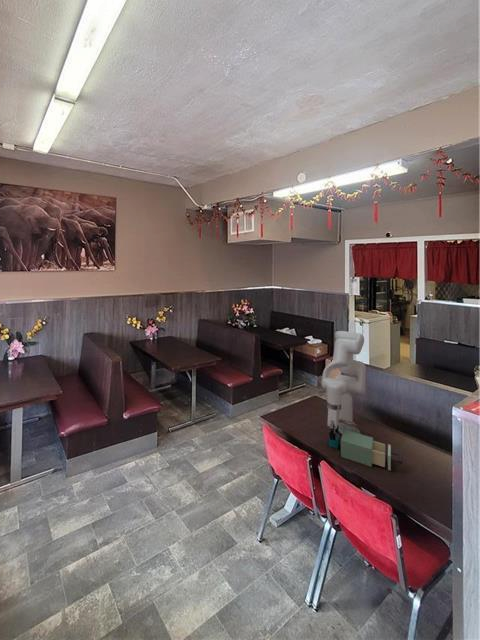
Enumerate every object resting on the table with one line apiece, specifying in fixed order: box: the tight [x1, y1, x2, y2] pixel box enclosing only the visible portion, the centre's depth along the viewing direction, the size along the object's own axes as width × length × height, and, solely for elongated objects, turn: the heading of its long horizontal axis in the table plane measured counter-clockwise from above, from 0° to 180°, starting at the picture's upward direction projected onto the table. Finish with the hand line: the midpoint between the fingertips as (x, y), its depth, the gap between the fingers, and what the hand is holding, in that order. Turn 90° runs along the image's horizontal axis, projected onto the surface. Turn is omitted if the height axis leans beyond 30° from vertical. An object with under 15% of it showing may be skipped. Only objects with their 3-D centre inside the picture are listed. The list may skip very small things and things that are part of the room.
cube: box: [328, 434, 341, 450], centre depth 175 cm, size 5×5×5 cm
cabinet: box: [340, 430, 374, 468], centre depth 166 cm, size 15×13×9 cm
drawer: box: [372, 440, 403, 471], centre depth 160 cm, size 18×11×7 cm, turn 56°
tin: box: [338, 419, 364, 435], centre depth 184 cm, size 15×3×8 cm, turn 47°
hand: (333, 435), depth 175 cm, fingers open, 9 cm apart
